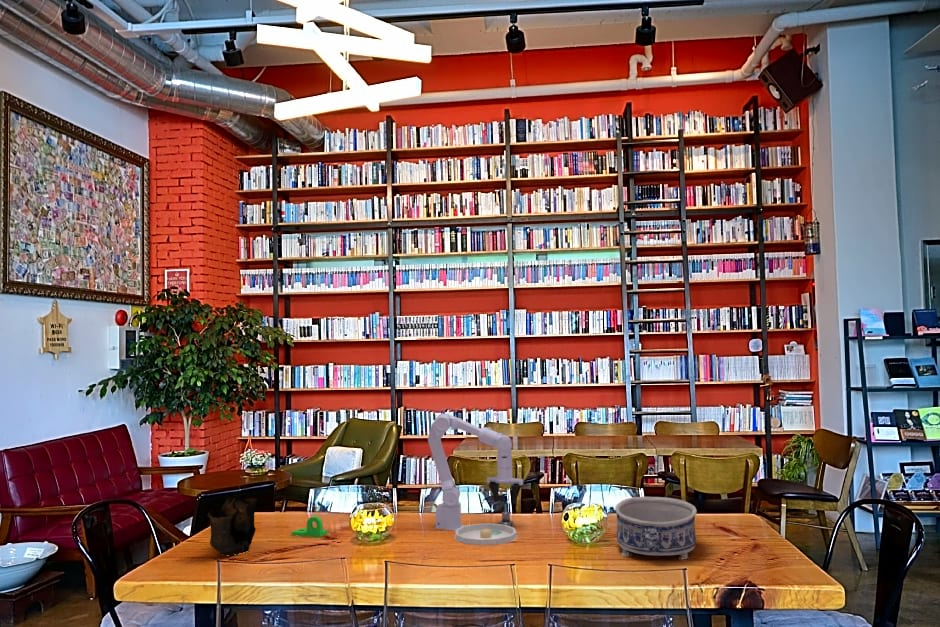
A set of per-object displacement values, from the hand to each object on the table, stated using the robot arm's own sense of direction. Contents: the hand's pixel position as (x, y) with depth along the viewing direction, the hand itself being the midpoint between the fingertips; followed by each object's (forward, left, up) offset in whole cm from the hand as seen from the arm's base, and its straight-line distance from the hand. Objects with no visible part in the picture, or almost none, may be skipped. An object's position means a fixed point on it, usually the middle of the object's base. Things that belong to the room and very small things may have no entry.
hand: (505, 502), depth 281 cm
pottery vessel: (-72, -69, -10) cm, 101 cm away
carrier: (0, -18, -9) cm, 20 cm away
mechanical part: (-63, -40, -10) cm, 76 cm away
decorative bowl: (+60, -9, -10) cm, 62 cm away
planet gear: (0, 0, -9) cm, 9 cm away
